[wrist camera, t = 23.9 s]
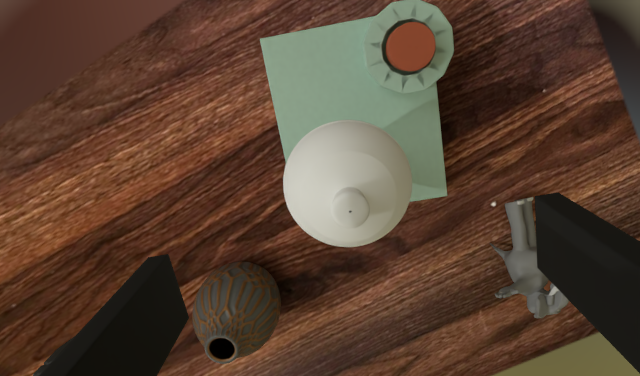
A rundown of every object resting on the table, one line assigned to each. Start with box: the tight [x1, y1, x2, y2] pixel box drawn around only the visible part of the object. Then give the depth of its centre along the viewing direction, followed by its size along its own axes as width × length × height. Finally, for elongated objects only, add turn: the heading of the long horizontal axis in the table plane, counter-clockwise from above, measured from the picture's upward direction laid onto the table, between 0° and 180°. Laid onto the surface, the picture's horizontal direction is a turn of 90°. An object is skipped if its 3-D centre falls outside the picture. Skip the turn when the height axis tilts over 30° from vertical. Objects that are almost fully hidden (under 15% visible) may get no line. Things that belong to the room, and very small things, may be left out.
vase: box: [193, 262, 281, 364], centre depth 33 cm, size 7×7×9 cm
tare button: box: [386, 22, 436, 71], centre depth 27 cm, size 3×3×2 cm
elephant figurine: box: [490, 197, 569, 318], centre depth 33 cm, size 10×6×9 cm
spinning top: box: [283, 120, 412, 247], centre depth 26 cm, size 8×8×12 cm
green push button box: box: [260, 0, 454, 202], centre depth 31 cm, size 14×13×4 cm
